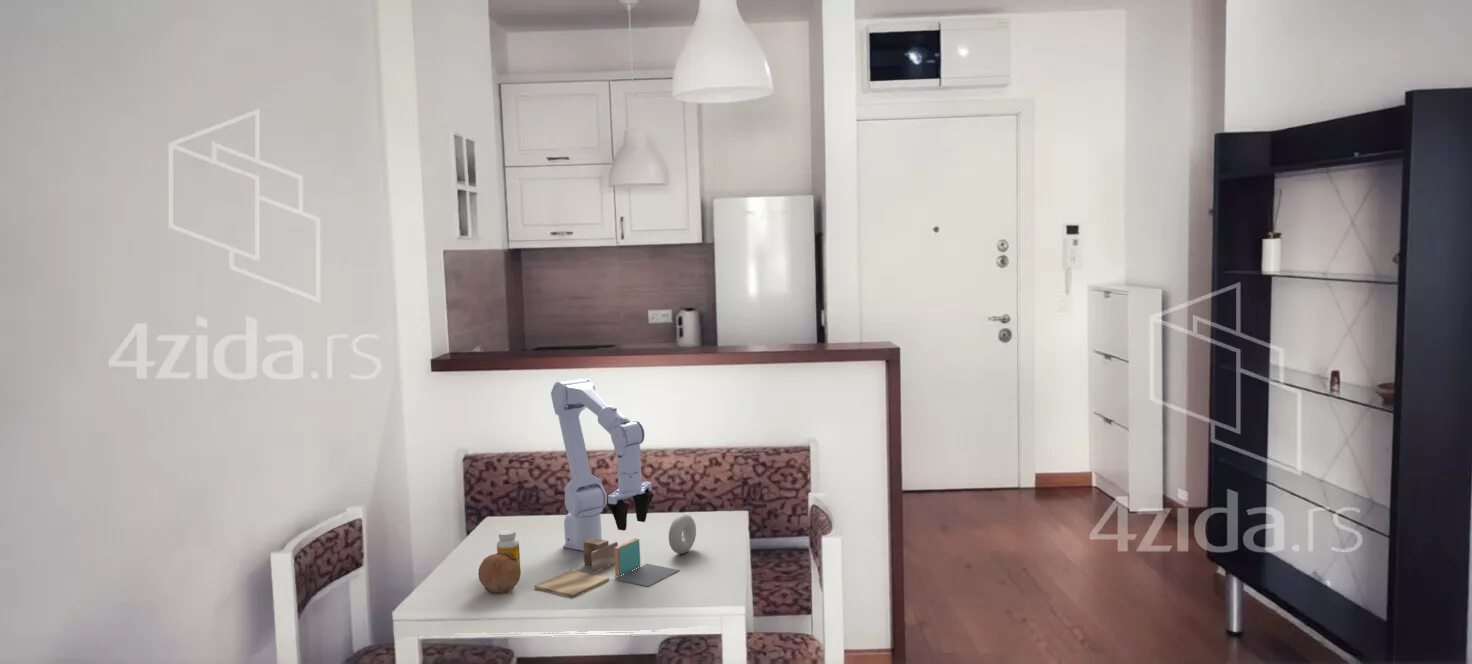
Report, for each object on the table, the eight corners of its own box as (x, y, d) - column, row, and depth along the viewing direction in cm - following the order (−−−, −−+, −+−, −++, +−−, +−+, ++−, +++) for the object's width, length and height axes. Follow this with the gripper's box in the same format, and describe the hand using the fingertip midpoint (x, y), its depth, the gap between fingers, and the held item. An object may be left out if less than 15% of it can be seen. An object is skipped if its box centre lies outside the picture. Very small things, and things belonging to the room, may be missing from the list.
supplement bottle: (496, 568, 227) (493, 531, 226) (517, 565, 229) (515, 527, 229) (500, 575, 222) (498, 536, 221) (522, 571, 225) (520, 533, 224)
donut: (678, 560, 229) (676, 520, 228) (666, 558, 230) (664, 519, 229) (699, 548, 237) (698, 510, 236) (688, 546, 239) (686, 508, 238)
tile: (615, 576, 219) (613, 547, 218) (636, 566, 225) (635, 538, 225) (619, 577, 218) (618, 548, 217) (641, 566, 225) (639, 539, 224)
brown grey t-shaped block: (576, 569, 225) (575, 545, 224) (601, 558, 232) (600, 534, 232) (594, 572, 222) (592, 548, 221) (618, 561, 229) (617, 538, 229)
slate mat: (614, 579, 216) (614, 579, 216) (646, 564, 226) (646, 563, 226) (648, 587, 211) (648, 586, 211) (679, 570, 221) (679, 570, 221)
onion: (515, 598, 215) (531, 557, 217) (505, 602, 206) (522, 559, 207) (477, 584, 215) (493, 543, 217) (466, 588, 206) (483, 545, 208)
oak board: (535, 588, 213) (534, 585, 213) (571, 572, 223) (571, 569, 222) (573, 597, 206) (573, 595, 206) (608, 580, 216) (608, 578, 216)
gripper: (623, 480, 217) (625, 536, 218) (660, 466, 229) (662, 519, 230) (600, 476, 221) (602, 531, 222) (638, 463, 233) (640, 516, 234)
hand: (631, 525), depth 226 cm, fingers open, 7 cm apart
